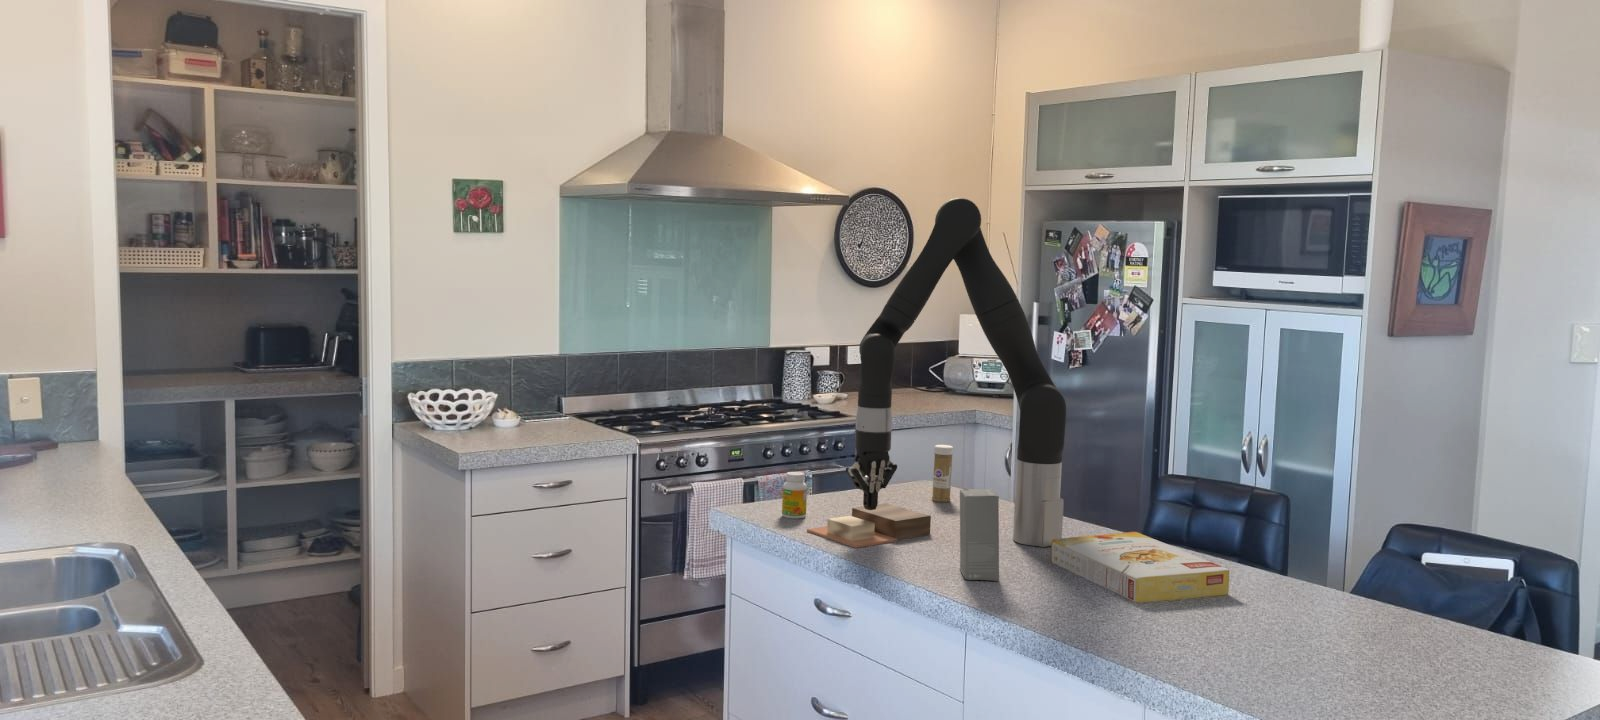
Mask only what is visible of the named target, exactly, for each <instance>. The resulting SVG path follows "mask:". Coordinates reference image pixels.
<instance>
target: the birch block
mask: <svg viewBox="0 0 1600 720" xmlns="http://www.w3.org/2000/svg"><path fill="white" fill-rule="evenodd" d="M874 529H875V523H873V522H869V521H866V520H862V519H859V518H856V517H852V515H845V516H839V517H838V516H837V517H831V518H827V533H829V534H832V535H835V536H838V537H841V538H844V539H848V540H851V541H855V540H861V539H868V538H874Z"/></svg>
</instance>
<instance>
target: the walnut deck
mask: <svg viewBox="0 0 1600 720" xmlns="http://www.w3.org/2000/svg"><path fill="white" fill-rule="evenodd" d="M851 516H852V517H856V518H859V519H862V520H866V521H869V522H873V523H875V529H874V532H876V533H880V534H883V535H886V536H889V537H892V538H896V539H897V540H903V539H909V538H916V537H922V536H926V535H927V536H928V535H931V524H932V523H931V521H932V515H929V514H926V513H922V512H919V511H915V510H912V509H910V508H909V509H907V508H905V507H901V506H897V505H894V504H891V503H887V502H886V503H881V504H879V503H878V504H877V507H876V509H875V510H867V509H865V508H864V506H857V507H852V508H851Z"/></svg>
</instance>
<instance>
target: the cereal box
mask: <svg viewBox="0 0 1600 720" xmlns="http://www.w3.org/2000/svg"><path fill="white" fill-rule="evenodd" d="M1050 548H1051V551H1050V552H1051V553H1050V562H1051V564H1055V565H1057V566H1059V567H1061V568H1063V569H1065V570H1067V571H1070V572H1071V573H1073V574H1075V575H1077V576H1080V577H1082V578H1084V579H1086V580H1088V581H1090V582H1092V583H1095V584H1096V585H1099V586H1100V587H1103V588H1105V589H1107V590H1109V591H1112V592H1114V593H1115V594H1117V595H1119V596H1122V597H1124V598H1126V599H1128V600H1130V601H1131V602H1132V601H1133V602H1135V603H1145V602H1146V603H1147V602H1148V603H1149V602H1158V601H1161V602H1162V601H1171V600H1184V599H1195V598H1207V597H1218V596H1226V595H1228V594H1229V589H1230V568H1226V567H1224V566H1222V565H1219V564H1216V563H1215V562H1212V561H1210V560H1209V561H1208V560H1207V559H1204V558H1203V557H1202V558H1201V557H1199V556H1197V555H1194V554H1193V553H1190V552H1187V551H1185V550H1183V549H1180V548H1178V547H1175V546H1172V545H1170V544H1167V543H1165V542H1163V541H1160V540H1157V539H1154V538H1153V537H1151V536H1147V535H1145V534H1142V533H1141V532H1138V531H1129V532H1127V531H1126V532H1119V533H1117V532H1116V533H1109V534H1098V535H1097V534H1096V535H1085V536H1073V537H1072V536H1071V537H1062V538H1060V539H1053V540H1052V546H1050Z"/></svg>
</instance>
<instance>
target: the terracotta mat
mask: <svg viewBox="0 0 1600 720" xmlns="http://www.w3.org/2000/svg"><path fill="white" fill-rule="evenodd" d="M806 532H808V533H810V534H813V535H817V536H819V537H822V538H825V539H828V540H832V541H834V542H837V543H840V544H843V545H846V546H848V547H849V546H850V547H853V548H855V549H859V548H864V547H865V548H866V547H870V546H877V545H882V544H888V543H894V542H897V539H896V538H892V537H889V536H886V535H883V534H880V533H876V532H874V538H868V539H861V540H855V541H851V540H848V539H844V538H841V537H838V536H835V535H832V534H829V533H827V526H826V525H825V526H820V527H813V528H807V529H806Z"/></svg>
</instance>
